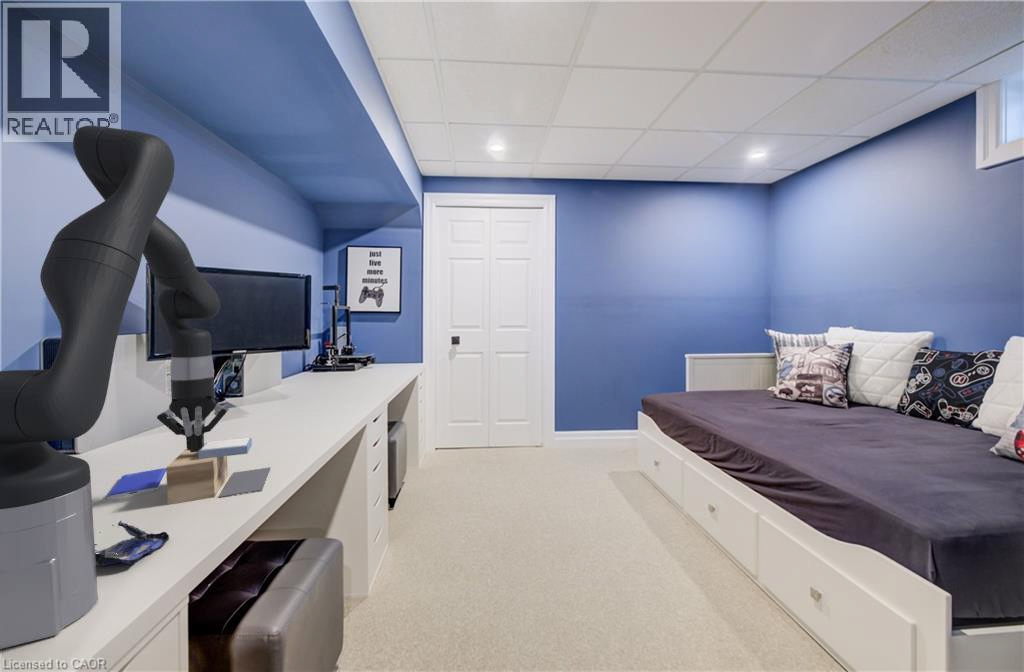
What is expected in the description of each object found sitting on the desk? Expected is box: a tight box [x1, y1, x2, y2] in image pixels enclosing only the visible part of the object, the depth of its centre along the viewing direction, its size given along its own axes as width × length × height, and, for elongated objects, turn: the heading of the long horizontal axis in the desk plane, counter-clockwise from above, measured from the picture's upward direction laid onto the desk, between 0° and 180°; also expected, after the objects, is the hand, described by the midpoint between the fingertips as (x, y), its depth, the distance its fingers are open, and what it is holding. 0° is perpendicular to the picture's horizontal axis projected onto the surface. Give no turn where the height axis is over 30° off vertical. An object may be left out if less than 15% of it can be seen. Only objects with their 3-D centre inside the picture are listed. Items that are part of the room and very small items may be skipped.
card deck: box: [199, 437, 253, 459], centre depth 90 cm, size 6×9×2 cm
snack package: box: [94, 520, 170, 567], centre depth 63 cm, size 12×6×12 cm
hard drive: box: [106, 467, 167, 500], centre depth 90 cm, size 2×8×12 cm
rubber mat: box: [218, 467, 272, 499], centre depth 92 cm, size 14×8×1 cm, turn 26°
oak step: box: [165, 448, 229, 505], centre depth 88 cm, size 12×8×8 cm, turn 26°
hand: (195, 450), depth 87 cm, fingers closed
